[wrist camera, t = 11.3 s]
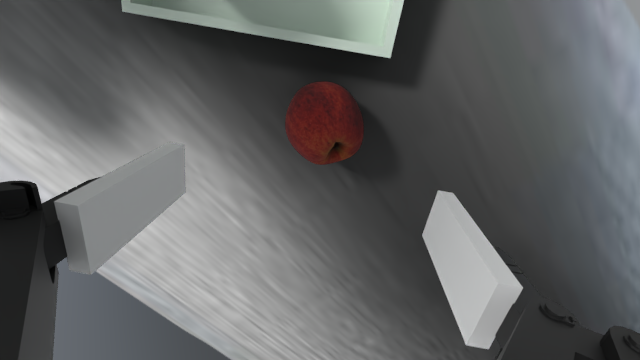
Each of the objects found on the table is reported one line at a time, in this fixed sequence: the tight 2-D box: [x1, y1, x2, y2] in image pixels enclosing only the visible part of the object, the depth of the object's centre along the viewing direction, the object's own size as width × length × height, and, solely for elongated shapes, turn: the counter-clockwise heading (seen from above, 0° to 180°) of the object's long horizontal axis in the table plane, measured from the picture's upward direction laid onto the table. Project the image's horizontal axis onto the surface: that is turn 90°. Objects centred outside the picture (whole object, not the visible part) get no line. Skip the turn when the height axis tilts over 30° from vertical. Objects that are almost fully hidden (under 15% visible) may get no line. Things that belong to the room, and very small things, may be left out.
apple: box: [285, 81, 364, 165], centre depth 29 cm, size 7×8×8 cm
